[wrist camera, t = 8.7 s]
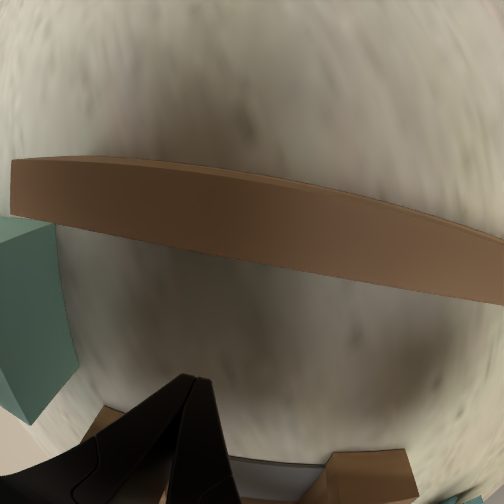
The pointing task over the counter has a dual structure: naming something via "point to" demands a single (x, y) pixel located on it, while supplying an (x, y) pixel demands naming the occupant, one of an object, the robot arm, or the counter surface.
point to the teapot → (474, 503)
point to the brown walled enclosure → (275, 254)
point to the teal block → (31, 319)
